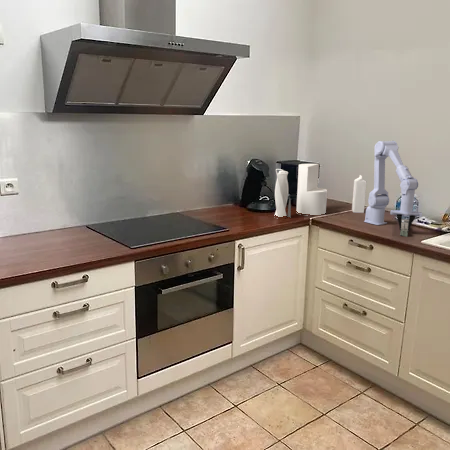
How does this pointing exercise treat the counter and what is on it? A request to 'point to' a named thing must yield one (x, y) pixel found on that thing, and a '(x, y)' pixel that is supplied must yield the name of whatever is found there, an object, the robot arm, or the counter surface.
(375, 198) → the robot arm
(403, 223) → the bar
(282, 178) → the skyscraper
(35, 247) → the counter surface
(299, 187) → the white stepped block
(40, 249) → the counter surface
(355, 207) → the milk
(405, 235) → the arm
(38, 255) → the counter surface
